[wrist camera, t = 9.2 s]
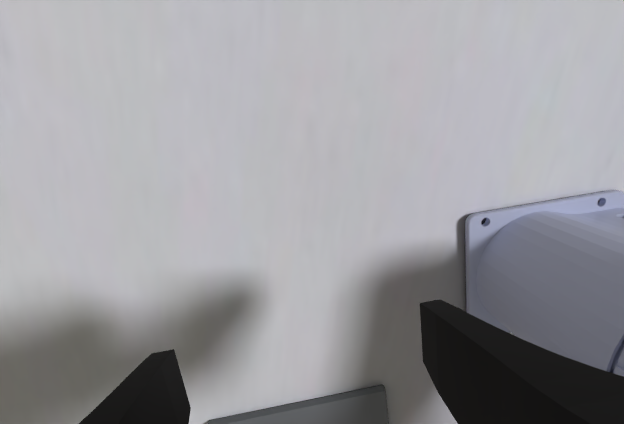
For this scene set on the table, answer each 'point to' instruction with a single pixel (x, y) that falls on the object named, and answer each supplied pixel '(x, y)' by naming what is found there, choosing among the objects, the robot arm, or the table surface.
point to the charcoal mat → (322, 410)
